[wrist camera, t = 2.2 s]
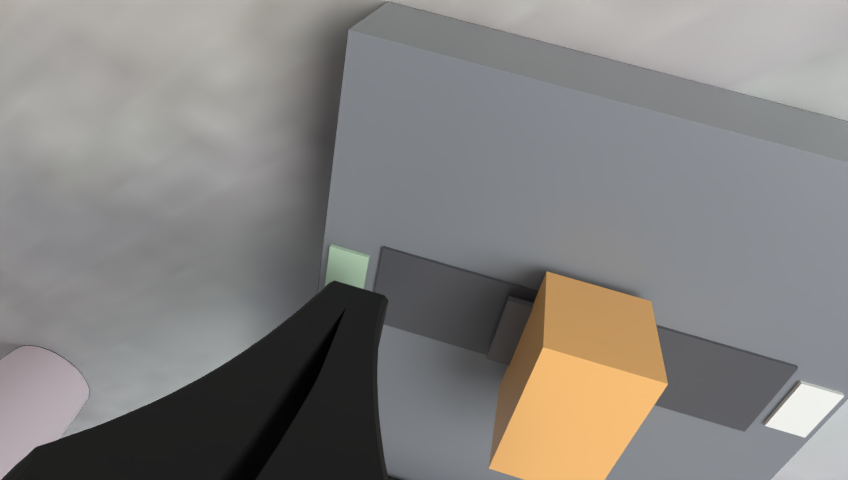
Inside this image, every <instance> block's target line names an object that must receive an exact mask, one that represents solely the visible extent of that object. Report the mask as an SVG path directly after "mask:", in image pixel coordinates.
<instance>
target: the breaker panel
mask: <svg viewBox="0 0 848 480" xmlns="http://www.w3.org/2000/svg"><path fill="white" fill-rule="evenodd" d="M547 271H548V272H551V273H555V274H558V275H562V276H565V277H568V278H572V279H575V280H579V281H582V282H586V283H589V284H593V285H596V286H600V287H603V288H607V289H610V290H614V291H617V292H621V293H624V294H628V295H631V296H635V297H638V298H642V299H645V300H649V301H651V302H652V307H653V312H654V317H655V322H656V327H657V332H658V337H659V342H660V347H661V352H662V357H663V361H664V366H665V371H666V376H667V381H668V385H667V387H666V388H665V390H664V391H663V393H662V394H661V396H660V397H659V399H658V400H657V402H656V403H655V405H654V406H653V408H652V409H651V411H650V412H649V414H648V415H647V417H646V418H645V420H644V421H643V423H642V424H641V426H640V427H639V429H638V430H637V432H636V433H635V435H634V436H633V438H632V439H631V441H630V442H629V444H628V445H627V447H626V448H625V450H624V451H623V453H622V454H621V456H620V457H619V459H618V460H617V462H616V463H615V465H614V466H613V468H612V469H611V471H610V472H609V474H608V475H607V477H606V478H605V480H771V479H772V478H773V477H774V476H775V474H776V473H777V472H778V471H779V470H780V469H781V468H782V467H783V466H784V465H785V464H786V463H787V462H788V461H789V460H790V459H791V458H792V457H793V456H794V455H795V454H796V453H797V452H798V450H799V449H800V448H801V447H802V446H803V445H804V444H805V443H806V442H807V441H808V440H809V439H810V438H811V437H812V436H813V435H814V434H815V433H816V432H817V431H818V430H819V429H820V428H821V426H822V425H823V424H824V423H825V422H826V421H827V420H828V419H829V418H830V417H831V416H832V415H833V414H834V413H835V412H836V411H837V410H838V409H839V408H840V407H841V406H842V405H843V404H844V402H845V401H846V400H847V399H848V121H844V120H840V119H836V118H832V117H829V116H825V115H821V114H817V113H813V112H809V111H806V110H802V109H798V108H794V107H790V106H786V105H783V104H779V103H775V102H771V101H767V100H763V99H760V98H756V97H752V96H748V95H744V94H740V93H737V92H733V91H729V90H725V89H721V88H718V87H714V86H710V85H706V84H702V83H698V82H695V81H691V80H687V79H683V78H679V77H675V76H672V75H668V74H664V73H660V72H656V71H652V70H649V69H645V68H641V67H637V66H633V65H629V64H626V63H622V62H618V61H614V60H610V59H606V58H603V57H599V56H595V55H591V54H587V53H583V52H580V51H576V50H572V49H568V48H564V47H560V46H557V45H553V44H549V43H545V42H541V41H538V40H534V39H530V38H526V37H522V36H518V35H515V34H511V33H507V32H503V31H499V30H495V29H492V28H488V27H484V26H480V25H476V24H472V23H469V22H465V21H461V20H457V19H453V18H449V17H446V16H442V15H438V14H434V13H430V12H426V11H423V10H419V9H415V8H411V7H407V6H403V5H400V4H396V3H392V2H386V3H385V4H384V5H382V6H381V7H379V8H378V9H377V10H375V11H374V12H372V13H371V14H370V15H368V16H367V17H365V18H364V19H363V20H361V21H360V22H358V23H357V24H356V25H354V26H353V27H351V28H350V29H349V30H348V38H347V46H346V55H345V63H344V72H343V81H342V89H341V98H340V106H339V115H338V123H337V132H336V140H335V149H334V157H333V166H332V174H331V183H330V191H329V200H328V208H327V217H326V226H325V234H324V243H323V251H322V260H321V268H320V277H319V285H318V293H319V292H320V291H321V290H322V289H323V288H324V287H325V286H326V285H327V284H328V283H330V282H332V281H334V280H335V281H338V282H342V283H345V284H348V285H352V286H355V287H358V288H362V289H365V290H369V291H372V292H375V293H379V294H382V295H385V296H386V298H387V299H388V305H387V310H386V315H385V319H384V324H383V329H382V334H381V338H380V343H379V348H378V366H377V384H378V406H379V419H380V428H381V437H382V444H383V451H384V458H385V464H386V469H387V474H388V479H389V480H524V479H521V478H518V477H514V476H511V475H508V474H505V473H501V472H498V471H495V470H492V469H489V461H490V453H491V446H492V438H493V430H494V422H495V415H496V407H497V399H498V391H499V386H500V384H501V381H502V379H503V376H504V374H505V372H506V369H507V367H508V365H504V364H501V363H498V362H494V361H491V360H488V359H486V357H487V353H488V350H489V347H490V344H491V342H492V339H493V336H494V334H495V331H496V328H497V326H498V323H499V320H500V318H501V315H502V312H503V310H504V307H505V304H506V302H507V299H508V296H512V297H516V298H519V299H523V300H526V301H529V302H533V303H534V301H535V298H536V296H537V294H538V291H539V289H540V286H541V284H542V281H543V279H544V277H545V274H546V272H547Z"/></svg>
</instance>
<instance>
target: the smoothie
mask: <svg viewBox="0 0 848 480" xmlns="http://www.w3.org/2000/svg"><path fill="white" fill-rule="evenodd" d="M88 398H89V388H88V385H87V383H86V381H85V379H84V378H83V376H82V375H81V374H80V372H79V371H78V370H77V369H76V368H75V367H74V366H73V365H71V364H70V363H69V362H68V361H66V360H65V359H64V358H62V357H60V356H59V355H57V354H55V353H53V352H51V351H49V350H46V349H43V348H40V347H35V346H22V347H19V348H17V349H16V350H14V351H13V352H11V353H10V354H8V355H7V356H5V357H4V358H2V359H1V360H0V480H1V479H2V478H3V477H4V476H5V475H6V474H7V473H8V472H9V471H10V470H11V469H12V468H13V467H14V466H15V465H16V464H17V463H19V462H20V461H21V460H22V459H23V458H24V457H26V456H27V455H28V454H29V453H30V452H31V451H32V450H33V449H34V448H35V447H37V446H40V445H43V444H47V443H50V442H53V441H55V440H58V439H60V438H61V437H62V435H63V434H64V432H65V431H66V430H67V428H68V427H69V425H70V424H71V423H72V421H73V420H74V418H75V417H76V415H77V414H78V413H79V411H80V410H81V408H82V407H83V406H84V404H85V403H86V401H87V400H88Z"/></svg>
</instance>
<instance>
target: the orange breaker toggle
mask: <svg viewBox="0 0 848 480" xmlns="http://www.w3.org/2000/svg"><path fill="white" fill-rule="evenodd" d="M486 359H488V360H491V361H494V362H498V363H501V364H504V365H508V367H507V369H506V372H505V374H504V376H503V379H502V381H501V384H500V386H499V391H498V399H497V407H496V415H495V422H494V430H493V438H492V446H491V453H490V461H489V469H492V470H495V471H498V472H501V473H505V474H508V475H511V476H514V477H518V478H521V479H524V480H605V478H606V477H607V475H608V474H609V472H610V471H611V469H612V468H613V466H614V465H615V463H616V462H617V460H618V459H619V457H620V456H621V454H622V453H623V451H624V450H625V448H626V447H627V445H628V444H629V442H630V441H631V439H632V438H633V436H634V435H635V433H636V432H637V430H638V429H639V427H640V426H641V424H642V423H643V421H644V420H645V418H646V417H647V415H648V414H649V412H650V411H651V409H652V408H653V406H654V405H655V403H656V402H657V400H658V399H659V397H660V396H661V394H662V393H663V391H664V390H665V388H666V387H667V385H668V381H667V376H666V371H665V366H664V361H663V357H662V352H661V347H660V342H659V337H658V332H657V327H656V322H655V317H654V312H653V307H652V302H651V301H649V300H645V299H642V298H638V297H635V296H631V295H628V294H624V293H621V292H617V291H614V290H610V289H607V288H603V287H600V286H596V285H593V284H589V283H586V282H582V281H579V280H575V279H572V278H568V277H565V276H562V275H558V274H555V273H551V272H548V271H547V272H546V274H545V277H544V279H543V281H542V284H541V286H540V289H539V291H538V294H537V296H536V298H535V301H534V303H533V302H529V301H526V300H523V299H519V298H516V297H512V296H508V299H507V302H506V304H505V307H504V310H503V312H502V315H501V318H500V320H499V323H498V326H497V328H496V331H495V334H494V336H493V339H492V342H491V344H490V347H489V350H488V353H487V357H486Z"/></svg>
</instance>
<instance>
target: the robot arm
mask: <svg viewBox="0 0 848 480" xmlns="http://www.w3.org/2000/svg"><path fill="white" fill-rule="evenodd" d="M387 305H388V299H387V298H386V296H385V295H382V294H379V293H375V292H372V291H369V290H365V289H362V288H358V287H355V286H352V285H348V284H345V283H342V282H338V281H335V280H334V281H332V282H330V283H328V284H327V285H326V286H325V287H324V288H323V289H322V290H321V291H320V292H319V293H318V294H317V295H316V296H315V297H313V298H312V299H311V300H310V301H309V302H308V303H307V304H305V305H304V306H303V307H302V308H301V309H300V310H298V311H297V312H296V313H295V314H294V315H292V316H291V317H290V318H288V319H287V320H286V321H285V322H283V323H282V324H281V325H280V326H278V327H277V328H276V329H275V330H273V331H272V332H271V333H269V334H268V335H267V336H265V337H264V338H262V339H261V340H259V341H258V342H257V343H255V344H254V345H252V346H251V347H249V348H248V349H247V350H245V351H244V352H242V353H241V354H239V355H238V356H236V357H235V358H233V359H232V360H230V361H228V362H227V363H225V364H224V365H222V366H220V367H219V368H217V369H215V370H214V371H212V372H210V373H208V374H207V375H205V376H203V377H202V378H200V379H198V380H196V381H194V382H192V383H190V384H188V385H187V386H185V387H183V388H181V389H179V390H177V391H175V392H173V393H171V394H169V395H167V396H165V397H163V398H161V399H159V400H157V401H155V402H153V403H150V404H148V405H146V406H143V407H141V408H139V409H136V410H134V411H132V412H129V413H127V414H125V415H122V416H120V417H118V418H115V419H113V420H111V421H108V422H106V423H103V424H101V425H98V426H96V427H93V428H90V429H87V430H84V431H81V432H78V433H76V434H73V435H70V436H67V437H64V438H61V439H58V440H55V441H53V442H50V443H47V444H43V445H40V446H37V447H35V448H34V449H33V450H32V451H31V452H30V453H29V454H28V455H27V456H26V457H24V458H23V459H22V460H21V461H20V462H19V463H17V464H16V465H15V466H14V467H13V468H12V469H11V470H10V471H9V472H8V473H7V474H6V475H5V476H4V477H3V478H2V479H1V480H389V479H388V474H387V469H386V464H385V458H384V451H383V444H382V437H381V428H380V419H379V406H378V384H377V366H378V348H379V343H380V338H381V334H382V329H383V324H384V319H385V315H386V310H387Z"/></svg>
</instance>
